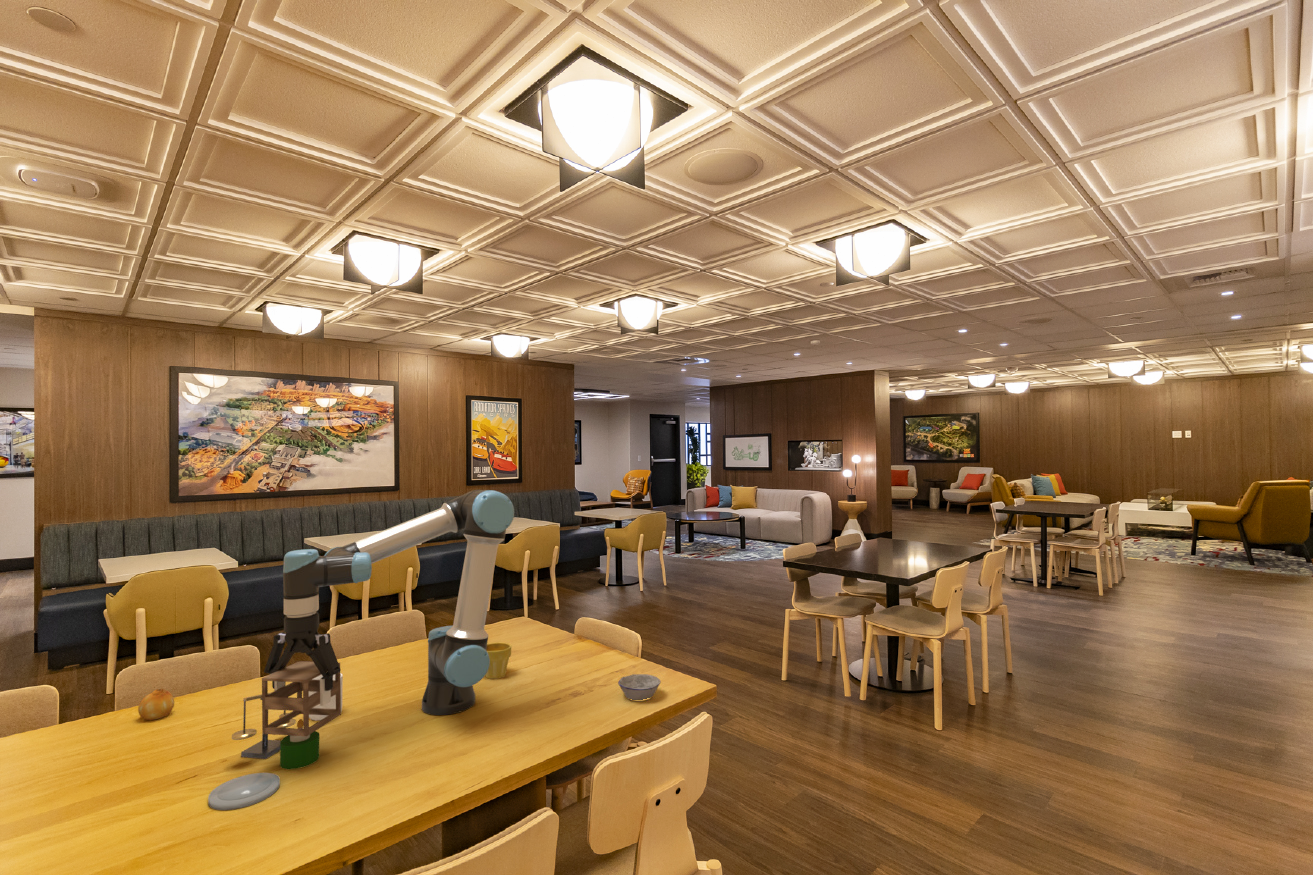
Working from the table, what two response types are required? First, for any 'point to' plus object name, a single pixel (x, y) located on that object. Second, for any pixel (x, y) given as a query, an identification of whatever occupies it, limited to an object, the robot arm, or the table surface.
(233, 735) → the balance
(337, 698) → the crate
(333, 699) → the mug
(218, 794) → the dish
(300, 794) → the table surface
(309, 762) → the candle
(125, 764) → the table surface
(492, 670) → the plant pot
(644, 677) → the bowl
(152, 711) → the brown onion
